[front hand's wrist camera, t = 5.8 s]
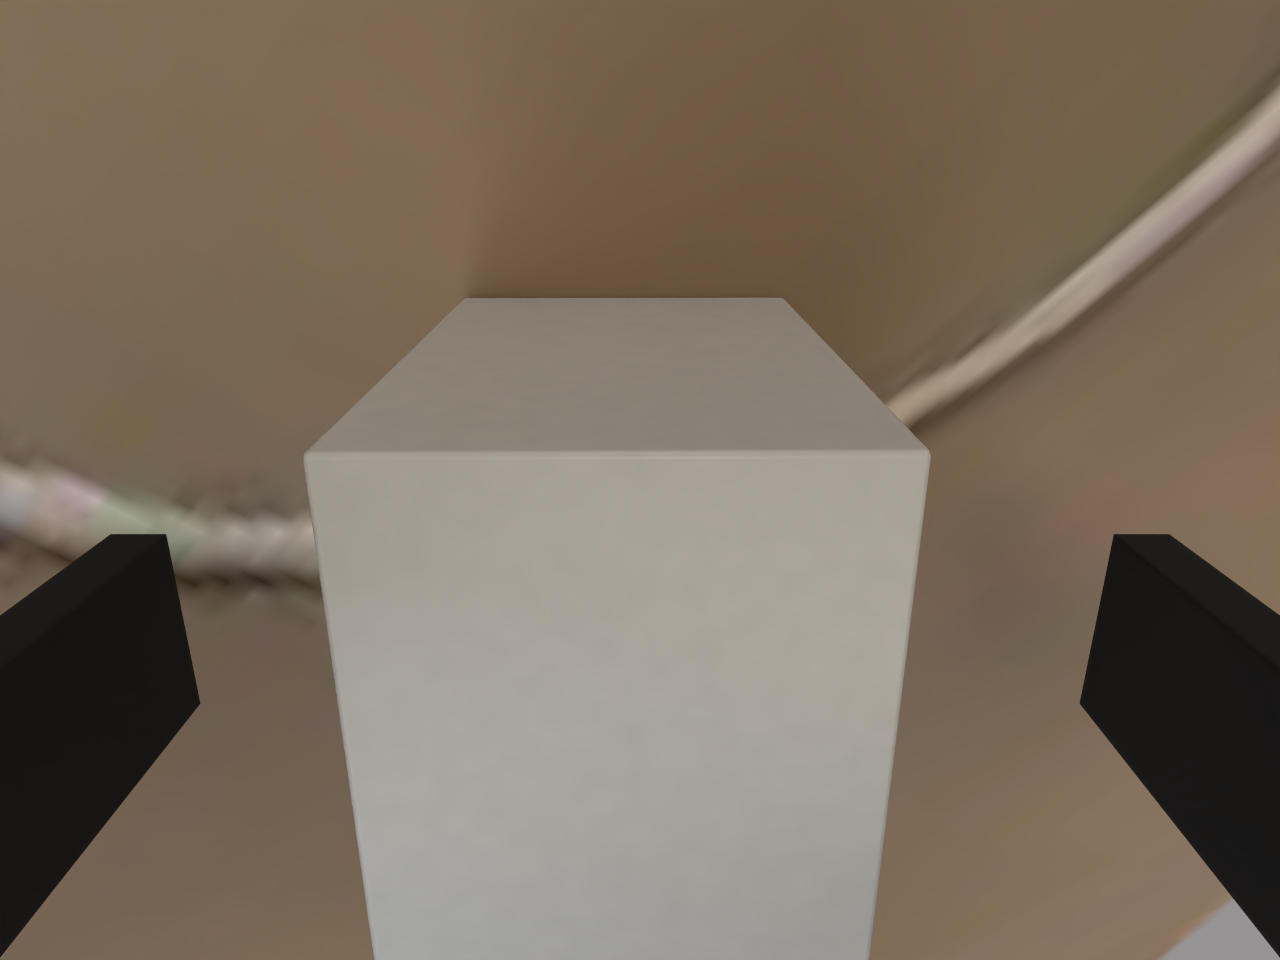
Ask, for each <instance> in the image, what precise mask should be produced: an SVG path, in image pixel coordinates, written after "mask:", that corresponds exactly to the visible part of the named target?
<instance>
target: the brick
mask: <svg viewBox="0 0 1280 960" xmlns="http://www.w3.org/2000/svg"><path fill="white" fill-rule="evenodd" d="M930 460H931V455H930V452H929V450H928V449H927V448H926V447H925V446H924V445H923V444H922V443H921V442H920V441H919V440H918V439H917V437H916V436H915V435H914V434H913V433H912V432H911V431H910V430H909V429H908V428H907V427H906V426H905V425H904V424H903V423H902V422H901V421H900V420H899V419H898V418H897V417H896V416H895V415H894V413H893V412H892V411H891V410H890V409H889V408H888V407H887V406H886V405H885V404H884V403H883V402H882V401H881V400H880V399H879V398H878V397H877V396H876V395H875V394H874V393H873V392H872V391H871V390H870V388H869V387H868V386H867V385H866V384H865V383H864V382H863V381H862V380H861V379H860V378H859V377H858V376H857V375H856V374H855V373H854V372H853V371H852V370H851V369H850V368H849V367H848V366H847V365H846V363H845V362H844V361H843V360H842V359H841V358H840V357H839V356H838V355H837V354H836V353H835V352H834V351H833V350H832V349H831V348H830V347H829V346H828V345H827V344H826V343H825V342H824V341H823V339H822V338H821V337H820V336H819V335H818V334H817V333H816V332H815V331H814V330H813V329H812V328H811V327H810V326H809V325H808V324H807V323H806V322H805V321H804V320H803V319H802V318H801V317H800V316H799V314H798V313H797V312H796V311H795V310H794V309H793V308H792V307H791V306H790V305H789V304H788V303H787V302H786V301H785V300H784V299H783V298H466V299H463V300H462V301H461V302H460V303H459V304H458V305H457V306H456V307H455V308H454V309H453V310H452V311H451V312H450V313H449V314H448V315H447V316H446V317H445V318H444V319H442V320H441V321H440V322H439V323H438V324H437V325H436V326H435V327H434V328H433V329H432V330H431V331H430V332H429V333H428V334H427V335H426V336H425V337H424V338H423V339H422V340H421V341H420V342H419V343H418V344H417V345H416V346H415V347H414V348H413V349H412V350H410V351H409V352H408V353H407V354H406V355H405V356H404V357H403V358H402V359H401V360H400V361H399V362H398V363H397V364H396V365H395V366H394V367H393V368H392V369H391V370H390V371H389V372H388V373H387V374H386V375H385V376H384V377H383V378H382V379H381V380H379V381H378V382H377V383H376V384H375V385H374V386H373V387H372V388H371V389H370V390H369V391H368V392H367V393H366V394H365V395H364V396H363V397H362V398H361V399H360V400H359V401H358V402H357V403H356V404H355V405H354V406H353V407H352V408H351V409H350V410H348V411H347V412H346V413H345V414H344V415H343V416H342V417H341V418H340V419H339V420H338V421H337V422H336V423H335V424H334V425H333V426H332V427H331V428H330V429H329V430H328V431H327V432H326V433H325V434H324V435H323V436H322V437H321V438H320V439H319V440H317V441H316V442H315V443H314V444H313V445H312V446H311V447H310V448H309V449H308V450H307V451H306V452H305V454H304V457H303V462H304V469H305V476H306V483H307V490H308V497H309V504H310V511H311V518H312V525H313V532H314V539H315V546H316V553H317V560H318V567H319V574H320V582H321V589H322V596H323V603H324V610H325V617H326V624H327V631H328V638H329V645H330V652H331V659H332V666H333V673H334V680H335V687H336V694H337V701H338V708H339V715H340V722H341V729H342V736H343V743H344V751H345V758H346V765H347V772H348V779H349V786H350V793H351V800H352V807H353V814H354V821H355V828H356V835H357V842H358V849H359V856H360V863H361V870H362V877H363V884H364V891H365V898H366V905H367V912H368V920H369V927H370V934H371V941H372V948H373V955H374V960H869V958H870V949H871V941H872V933H873V925H874V917H875V909H876V900H877V892H878V884H879V876H880V868H881V860H882V851H883V843H884V835H885V827H886V819H887V811H888V803H889V794H890V786H891V778H892V770H893V762H894V754H895V745H896V737H897V729H898V721H899V713H900V705H901V696H902V688H903V680H904V672H905V664H906V656H907V647H908V639H909V631H910V623H911V615H912V607H913V599H914V590H915V582H916V574H917V566H918V558H919V550H920V541H921V533H922V525H923V517H924V509H925V501H926V492H927V484H928V476H929V468H930Z"/></svg>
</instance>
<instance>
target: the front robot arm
mask: <svg viewBox="0 0 1280 960" xmlns="http://www.w3.org/2000/svg"><path fill="white" fill-rule="evenodd" d="M199 704H200V700H199V695H198V690H197V685H196V680H195V675H194V670H193V665H192V660H191V655H190V650H189V645H188V640H187V635H186V630H185V625H184V621H183V616H182V611H181V606H180V601H179V596H178V591H177V586H176V581H175V576H174V571H173V566H172V561H171V556H170V551H169V546H168V541H167V536H166V534H111V535H109V536H108V537H106V538H105V539H104V540H102V541H101V542H100V543H98V544H97V545H96V546H94V547H93V548H92V549H90V550H89V551H87V552H86V553H85V554H83V555H82V556H81V557H79V558H78V559H77V560H75V561H74V562H72V563H71V564H70V565H68V566H67V567H66V568H64V569H63V570H62V571H60V572H59V573H57V574H56V575H55V576H53V577H52V578H51V579H49V580H48V581H47V582H45V583H44V584H43V585H41V586H40V587H38V588H37V589H36V590H34V591H33V592H32V593H30V594H29V595H28V596H26V597H25V598H23V599H22V600H21V601H19V602H18V603H17V604H15V605H14V606H13V607H11V608H10V609H8V610H7V611H6V612H4V613H3V614H2V615H0V957H1V956H2V954H3V953H4V952H5V951H6V949H7V948H8V947H9V946H10V944H11V943H12V942H13V940H14V939H15V938H16V937H17V935H18V934H19V933H20V932H21V930H22V929H23V928H24V927H25V925H26V924H27V923H28V921H29V920H30V919H31V918H32V916H33V915H34V914H35V913H36V911H37V910H38V909H39V907H40V906H41V905H42V904H43V902H44V901H45V900H46V899H47V897H48V896H49V895H50V894H51V892H52V891H53V890H54V888H55V887H56V886H57V885H58V883H59V882H60V881H61V880H62V878H63V877H64V876H65V875H66V873H67V872H68V871H69V869H70V868H71V867H72V866H73V864H74V863H75V862H76V861H77V859H78V858H79V857H80V855H81V854H82V853H83V852H84V850H85V849H86V848H87V847H88V845H89V844H90V843H91V842H92V840H93V839H94V838H95V836H96V835H97V834H98V833H99V831H100V830H101V829H102V828H103V826H104V825H105V824H106V822H107V821H108V820H109V819H110V817H111V816H112V815H113V814H114V812H115V811H116V810H117V809H118V807H119V806H120V805H121V803H122V802H123V801H124V800H125V798H126V797H127V796H128V795H129V793H130V792H131V791H132V789H133V788H134V787H135V786H136V784H137V783H138V782H139V781H140V779H141V778H142V777H143V776H144V774H145V773H146V772H147V770H148V769H149V768H150V767H151V765H152V764H153V763H154V762H155V760H156V759H157V758H158V756H159V755H160V754H161V753H162V751H163V750H164V749H165V748H166V746H167V745H168V744H169V743H170V741H171V740H172V739H173V737H174V736H175V735H176V734H177V732H178V731H179V730H180V729H181V727H182V726H183V725H184V724H185V722H186V721H187V720H188V718H189V717H190V716H191V715H192V713H193V712H194V711H195V710H196V708H197V707H198V706H199ZM1080 704H1081V706H1082V707H1083V708H1084V710H1085V711H1086V712H1087V713H1088V715H1089V716H1090V717H1091V718H1092V720H1093V721H1094V722H1095V724H1096V725H1097V726H1098V727H1099V729H1100V730H1101V731H1102V732H1103V734H1104V735H1105V736H1106V737H1107V739H1108V740H1109V741H1110V743H1111V744H1112V745H1113V746H1114V748H1115V749H1116V750H1117V751H1118V753H1119V754H1120V755H1121V756H1122V758H1123V759H1124V760H1125V762H1126V763H1127V764H1128V765H1129V767H1130V768H1131V769H1132V770H1133V772H1134V773H1135V774H1136V776H1137V777H1138V778H1139V779H1140V781H1141V782H1142V783H1143V784H1144V786H1145V787H1146V788H1147V789H1148V791H1149V792H1150V793H1151V795H1152V796H1153V797H1154V798H1155V800H1156V801H1157V802H1158V803H1159V805H1160V806H1161V807H1162V809H1163V810H1164V811H1165V812H1166V814H1167V815H1168V816H1169V817H1170V819H1171V820H1172V821H1173V822H1174V824H1175V825H1176V826H1177V828H1178V829H1179V830H1180V831H1181V833H1182V834H1183V835H1184V836H1185V838H1186V839H1187V840H1188V842H1189V843H1190V844H1191V845H1192V847H1193V848H1194V849H1195V850H1196V852H1197V853H1198V854H1199V855H1200V857H1201V858H1202V859H1203V861H1204V862H1205V863H1206V864H1207V866H1208V867H1209V868H1210V869H1211V871H1212V872H1213V873H1214V875H1215V876H1216V877H1217V878H1218V880H1219V881H1220V882H1221V883H1222V885H1223V886H1224V887H1225V888H1226V890H1227V891H1228V892H1229V894H1230V895H1231V896H1232V897H1233V899H1234V900H1235V901H1236V902H1237V904H1238V905H1239V906H1240V907H1241V909H1242V910H1243V911H1244V913H1245V914H1246V915H1247V916H1248V918H1249V919H1250V920H1251V921H1252V923H1253V924H1254V925H1255V927H1256V928H1257V929H1258V930H1259V932H1260V933H1261V934H1262V935H1263V937H1264V938H1265V939H1266V940H1267V942H1268V943H1269V944H1270V945H1271V947H1272V948H1273V949H1274V951H1275V952H1276V953H1277V954H1278V956H1279V957H1280V615H1278V614H1277V613H1276V612H1274V611H1273V610H1272V609H1270V608H1269V607H1267V606H1266V605H1265V604H1263V603H1262V602H1261V601H1259V600H1258V599H1257V598H1255V597H1254V596H1252V595H1251V594H1250V593H1248V592H1247V591H1246V590H1244V589H1243V588H1242V587H1240V586H1239V585H1237V584H1236V583H1235V582H1233V581H1232V580H1231V579H1229V578H1228V577H1227V576H1225V575H1224V574H1223V573H1221V572H1220V571H1218V570H1217V569H1216V568H1214V567H1213V566H1212V565H1210V564H1209V563H1208V562H1206V561H1205V560H1203V559H1202V558H1201V557H1199V556H1198V555H1197V554H1195V553H1194V552H1193V551H1191V550H1190V549H1188V548H1187V547H1186V546H1184V545H1183V544H1182V543H1180V542H1179V541H1178V540H1176V539H1175V538H1174V537H1172V536H1171V535H1169V534H1114V536H1113V541H1112V546H1111V551H1110V556H1109V561H1108V566H1107V571H1106V576H1105V581H1104V586H1103V591H1102V596H1101V601H1100V606H1099V611H1098V616H1097V621H1096V625H1095V630H1094V635H1093V640H1092V645H1091V650H1090V655H1089V660H1088V665H1087V670H1086V675H1085V680H1084V685H1083V690H1082V695H1081V700H1080Z"/></svg>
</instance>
